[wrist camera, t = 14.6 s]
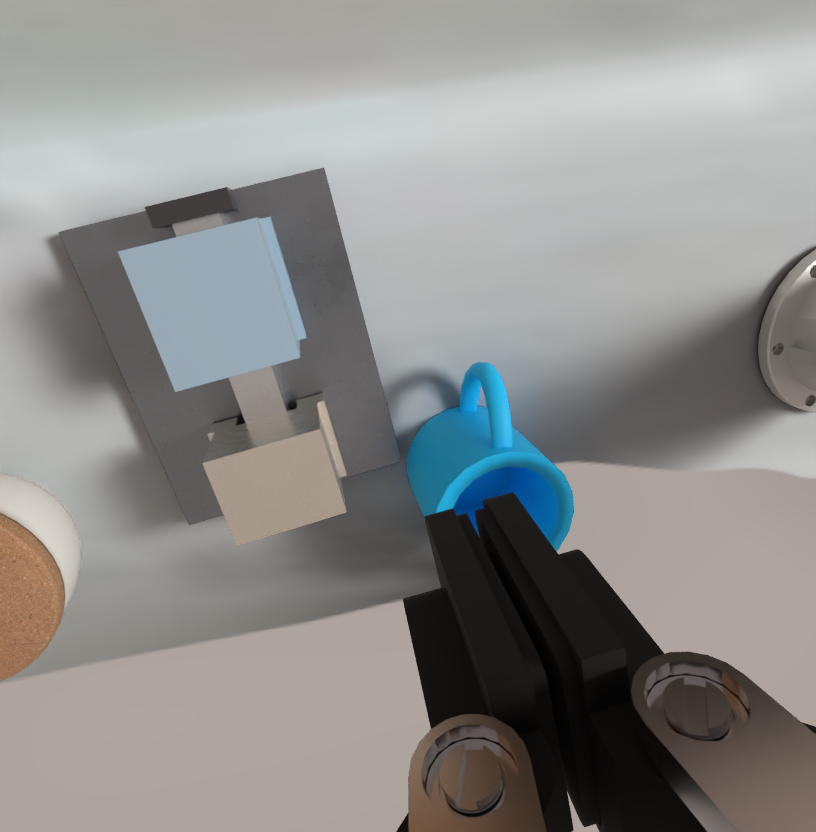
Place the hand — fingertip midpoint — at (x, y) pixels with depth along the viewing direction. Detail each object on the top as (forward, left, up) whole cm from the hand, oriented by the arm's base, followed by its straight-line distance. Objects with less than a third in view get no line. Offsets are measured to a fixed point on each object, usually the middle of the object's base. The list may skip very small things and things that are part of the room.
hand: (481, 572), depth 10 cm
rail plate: (+6, 0, -25) cm, 26 cm away
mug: (-5, +9, -26) cm, 28 cm away
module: (+6, -4, -24) cm, 25 cm away
